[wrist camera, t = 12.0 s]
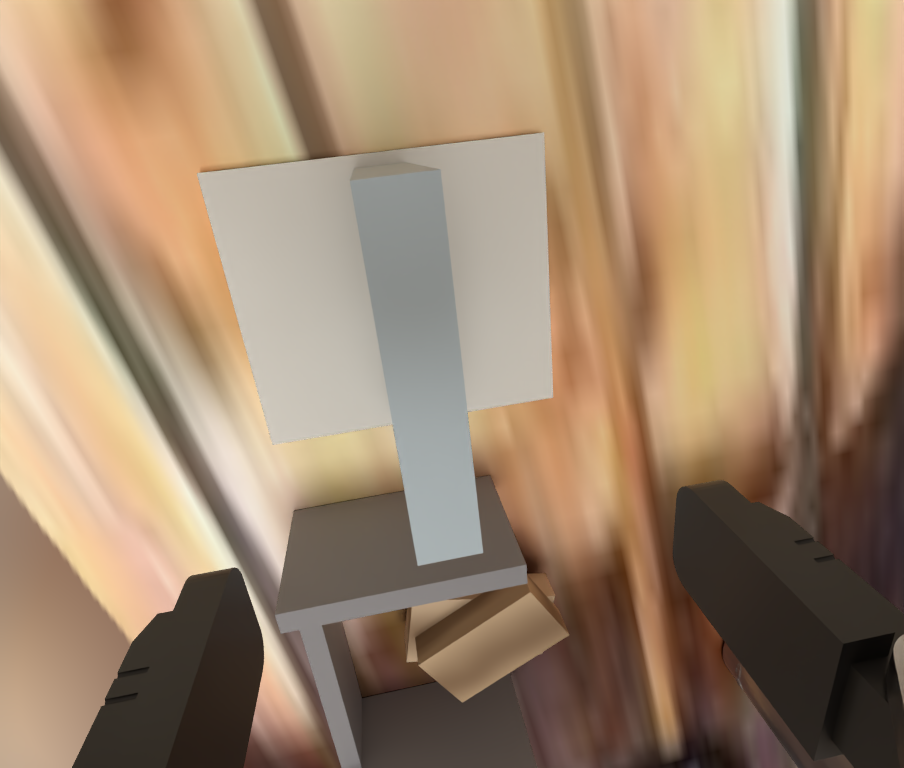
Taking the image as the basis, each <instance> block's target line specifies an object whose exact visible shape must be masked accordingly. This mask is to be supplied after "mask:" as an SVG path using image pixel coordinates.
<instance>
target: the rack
mask: <svg viewBox="0 0 904 768" xmlns="http://www.w3.org/2000/svg"><path fill="white" fill-rule="evenodd" d="M475 484H476V493H477V502H478V511H479V520H480V529H481V538H482V547H483V553H481V554H476V555H471V556H465V557H460V558H455V559H450V560H445V561H440V562H435V563H430V564H425V565H420V566H418V565H417V559H416V553H415V548H414V542H413V536H412V531H411V525H410V520H409V514H408V508H407V503H406V497H405V491H400V492H395V493H389V494H384V495H378V496H373V497H367V498H362V499H356V500H351V501H345V502H340V503H334V504H329V505H323V506H318V507H312V508H307V509H301V510H295V511H294V513H293V518H292V524H291V529H290V535H289V540H288V546H287V551H286V557H285V562H284V568H283V573H282V579H281V584H280V590H279V595H278V601H277V606H276V611H275V617H276V620H277V623H278V626H279V629H280V632H281V633H286V632H291V631H296V630H300V633H301V636H302V640H303V643H304V646H305V649H306V653H307V656H308V659H309V662H310V666H311V669H312V672H313V676H314V679H315V682H316V685H317V689H318V692H319V695H320V698H321V702H322V705H323V708H324V712H325V715H326V718H327V721H328V725H329V728H330V731H331V735H332V738H333V741H334V744H335V748H336V751H337V754H338V757H339V761H340V764H341V767H342V768H537V765H536V762H535V759H534V755H533V752H532V748H531V745H530V741H529V738H528V734H527V731H526V727H525V724H524V721H523V717H522V714H521V710H520V707H519V703H518V700H517V696H516V693H515V689H514V686H513V683H512V679H511V676H510V673H509V674H507V675H505V676H504V677H502V678H501V679H499V680H497V681H496V682H494V683H493V684H491V685H490V686H488V687H486V688H485V689H483V690H482V691H480V692H479V693H477V694H475V695H474V696H472V697H471V698H469V699H468V700H466V701H464V702H463V703H462V702H461V701H460V700H458V699H457V698H456V697H455V696H454V695H453V694H451V693H450V692H449V691H448V690H447V689H446V688H444V687H443V686H442V685H441V684H440V683H438V682H434V683H430V684H425V685H421V686H416V687H411V688H407V689H402V690H398V691H393V692H388V693H384V694H379V695H375V696H370V697H366V698H362V697H361V693H360V689H359V685H358V681H357V677H356V673H355V670H354V666H353V662H352V658H351V654H350V650H349V646H348V643H347V639H346V635H345V631H344V627H343V623H342V621H345V620H350V619H355V618H360V617H365V616H370V615H375V614H380V613H385V612H390V611H395V610H399V609H404V608H409V607H414V606H419V605H424V604H429V603H434V602H439V601H444V600H449V599H454V598H458V597H463V596H468V595H473V594H478V593H483V592H488V591H493V590H498V589H503V588H508V587H513V586H518V585H522V584H527V583H528V581H527V566H526V562H525V560H524V557H523V555H522V553H521V550H520V548H519V545H518V543H517V540H516V538H515V535H514V533H513V530H512V528H511V525H510V523H509V521H508V518H507V516H506V513H505V511H504V508H503V506H502V503H501V501H500V498H499V496H498V493H497V491H496V489H495V486H494V484H493V481H492V479H491V476H490V475H489V476H483V477H478V478H475Z"/></svg>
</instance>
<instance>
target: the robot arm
mask: <svg viewBox="0 0 904 768" xmlns="http://www.w3.org/2000/svg"><path fill="white" fill-rule="evenodd" d="M673 560H674V565H675V568H676V572H677V574H678V577H679V579H680V581H681V583H682V585H683V586H684V588H685V589H686V590H687V592H688V593H689V594H690V596H691V597H692V598H693V600H694V601H695V602H696V604H697V605H698V606H699V608H700V609H701V611H702V612H703V613H704V615H705V616H706V617H707V619H708V620H709V621H710V623H711V624H712V625H713V627H714V628H715V629H716V631H717V632H718V633H719V635H720V636H721V637H722V639H723V640H724V641H725V643H724V647H723V660H724V663H725V665H726V667H727V668H728V669H729V671H730V672H731V674H732V675H733V676H734V678H735V679H736V681H737V683H738V685H739V686H740V687H741V689H742V690H743V691H744V692H745V693H746V695H747V696H748V698H749V699H750V700H751V702H752V703H753V705H754V706H755V707H756V709H757V710H758V712H759V713H760V715H761V716H762V718H763V719H764V720H765V722H766V723H767V725H768V726H769V727H770V729H771V730H772V732H773V733H774V734H775V736H776V737H777V739H778V740H779V741H780V743H781V744H782V746H783V747H784V748H785V750H786V751H787V753H788V754H789V755H790V757H791V758H792V760H793V761H794V762H795V764H796V765H797V767H798V768H904V614H903V613H902V612H901V611H900V610H898V609H897V608H896V607H895V606H894V605H892V604H891V603H890V602H889V601H888V600H887V599H885V598H884V597H883V596H882V595H881V594H879V593H878V592H877V591H876V590H875V589H874V588H872V587H871V586H870V585H869V584H868V583H866V582H865V581H864V580H863V579H862V578H861V577H859V576H858V575H857V574H856V573H855V572H853V571H852V570H851V569H850V568H849V567H848V566H846V565H845V564H844V563H843V562H842V561H840V560H839V559H837V560H836V559H835V558H834V556H833V554H832V553H831V552H830V551H829V550H828V549H826V548H825V547H824V546H823V545H822V544H820V543H819V542H815V541H814V540H813V537H812V536H811V535H810V534H809V533H807V532H806V531H805V530H804V529H803V528H802V527H800V526H799V525H798V524H797V523H796V522H794V521H793V520H792V519H791V518H790V517H788V516H786V515H784V514H782V513H780V512H778V511H776V510H774V509H772V508H770V507H768V506H766V505H764V504H762V503H760V502H755V503H750V502H749V501H748V500H747V499H746V498H745V497H744V496H743V495H741V494H740V493H739V492H738V491H737V490H736V489H735V488H734V487H733V486H731V485H730V484H729V483H728V482H726V481H724V480H717V481H711V482H706V483H701V484H695V485H690V486H684V487H681V488H680V489H679V491H678V493H677V499H676V513H675V527H674V541H673ZM263 664H264V646H263V638H262V633H261V629H260V626H259V624H258V621H257V618H256V615H255V612H254V609H253V606H252V603H251V600H250V597H249V594H248V591H247V588H246V585H245V582H244V579H243V577H242V574H241V572H240V571H239V569H237V568H230V569H225V570H219V571H214V572H208V573H203V574H198V575H192V576H190V577H189V578H188V579H187V580H186V582H185V584H184V586H183V589H182V591H181V593H180V596H179V598H178V600H177V603H176V605H175V608H174V610H173V611H170V612H165V613H159V614H157V615H156V616H155V617H154V619H153V620H152V621H151V622H150V623H149V624H148V625H147V626H146V627H145V629H144V630H143V631H142V632H141V633H140V634H139V635H138V636H137V637H136V639H135V640H134V641H133V642H132V644H131V646H130V648H129V650H128V652H127V654H126V656H125V658H124V660H123V662H122V665H121V667H120V669H119V671H118V678H117V679H114V681H113V684H112V685H111V688H110V689H109V692H108V694H107V696H106V698H105V705H104V706H102V707H101V709H100V710H99V712H98V715H97V717H96V719H95V721H94V723H93V725H92V727H91V729H90V731H89V733H88V735H87V737H86V739H85V742H84V744H83V746H82V748H81V750H80V752H79V754H78V756H77V758H76V760H75V762H74V765H73V766H72V768H243V767H244V762H245V757H246V752H247V747H248V742H249V737H250V732H251V727H252V722H253V717H254V712H255V707H256V702H257V697H258V692H259V687H260V682H261V677H262V672H263Z"/></svg>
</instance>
